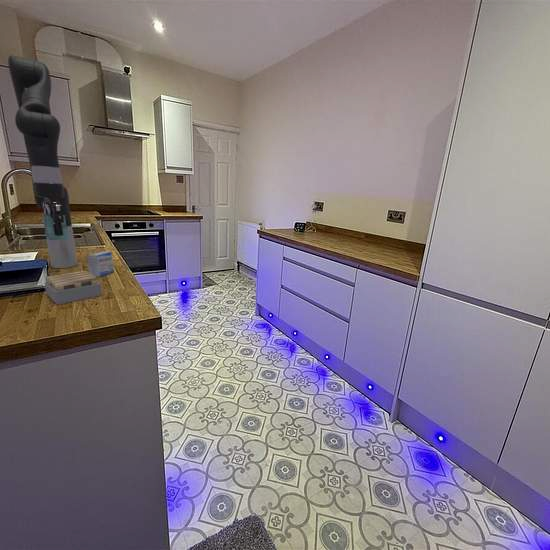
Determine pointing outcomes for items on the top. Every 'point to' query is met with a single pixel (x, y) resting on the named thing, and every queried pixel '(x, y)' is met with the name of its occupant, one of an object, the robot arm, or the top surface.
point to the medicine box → (100, 263)
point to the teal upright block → (50, 229)
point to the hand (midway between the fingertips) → (56, 234)
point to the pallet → (71, 279)
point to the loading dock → (73, 292)
